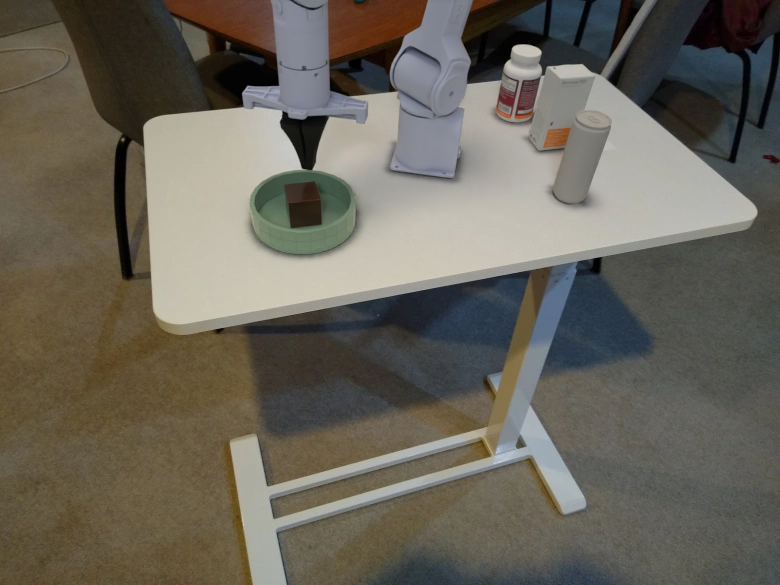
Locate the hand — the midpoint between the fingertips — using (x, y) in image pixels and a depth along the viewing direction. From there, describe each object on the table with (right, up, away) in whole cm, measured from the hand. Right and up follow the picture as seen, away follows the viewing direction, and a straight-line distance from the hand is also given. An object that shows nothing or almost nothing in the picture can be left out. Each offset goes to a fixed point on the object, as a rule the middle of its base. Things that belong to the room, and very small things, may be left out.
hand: (308, 165), depth 73 cm
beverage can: (+36, -2, +9) cm, 37 cm away
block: (-1, -6, +2) cm, 7 cm away
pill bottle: (+31, +14, +25) cm, 43 cm away
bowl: (-1, -7, +2) cm, 7 cm away
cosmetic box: (+36, +8, +19) cm, 42 cm away
